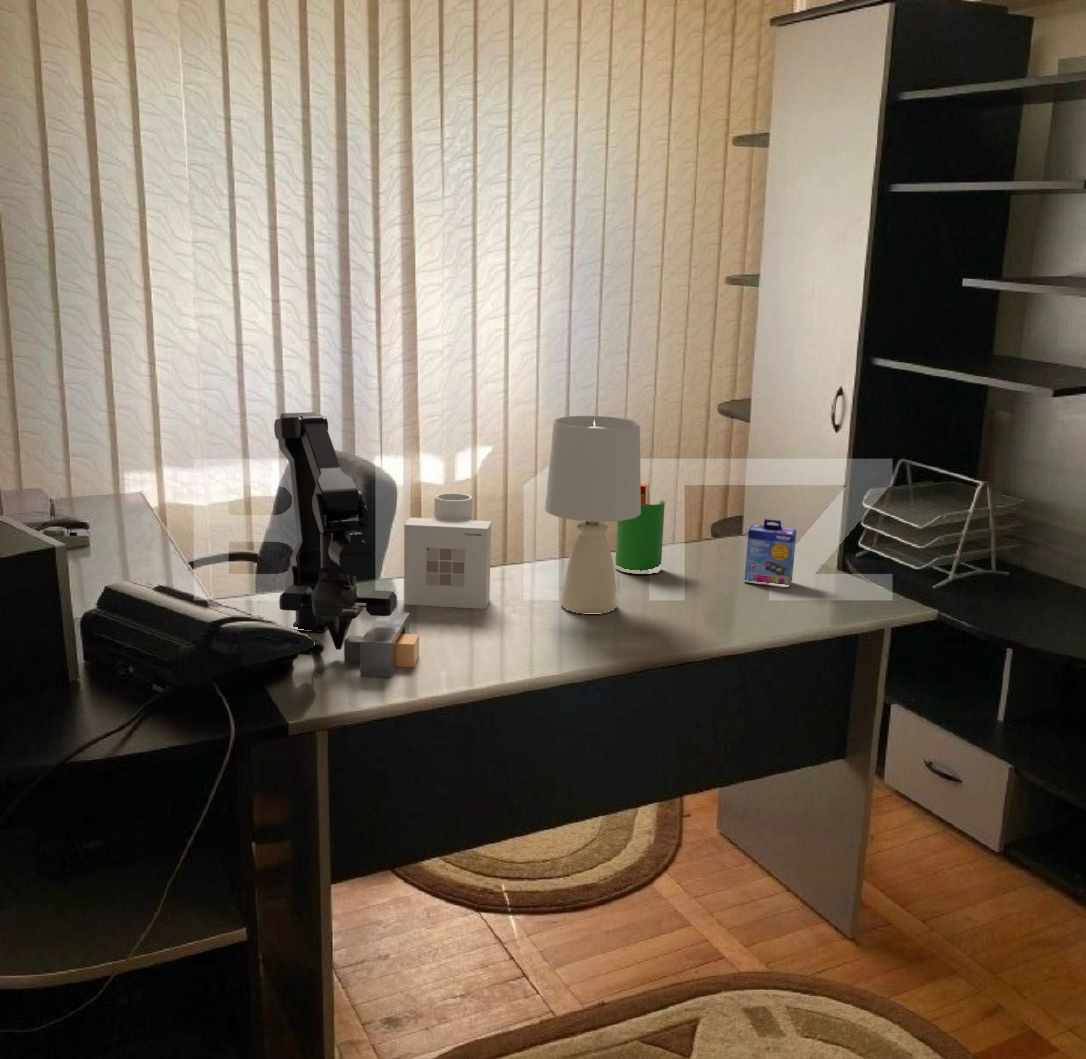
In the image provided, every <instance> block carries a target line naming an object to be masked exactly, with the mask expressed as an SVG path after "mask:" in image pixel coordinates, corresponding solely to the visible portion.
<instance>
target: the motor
mask: <svg viewBox="0 0 1086 1059" xmlns="http://www.w3.org/2000/svg"><path fill="white" fill-rule="evenodd" d="M646 501H647V483H641V514H640V515H639V516H638V517H636V518H633V519H629V520H623V521H616V522H617V524H616V526H617V528H616V542H615V544H616V545H615V546H616V548H615V564H616V565H617V566H620V567H622V568H624V569H629V570H640V571H642V570H648V569H653V568H655V567H658V566H659V565H660V564H661V565H662V556H663V554H662V553H663V543H664V542H663V540H664V539H663V538H664V521H665V506H666V505H665V504H666V501H665V500H660V502H659V503H656V504H650V503H647V502H646Z"/></svg>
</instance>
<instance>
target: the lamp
mask: <svg viewBox="0 0 1086 1059" xmlns="http://www.w3.org/2000/svg"><path fill="white" fill-rule="evenodd" d="M552 425H553V426H552V435H551V444H550V455H549V464H548V473H547V474H548V476H547V485H546V495H545V506H544V510H545V512H547V513H548V514H549V515H551V516H554V517H557V518H562V519H566V520H570V521H571V520H572V521H579V523H578V524H577V525H576V529H577V530H578V532H579V533H578V536H577V538H576V540H575V541H574V544H573V545H572V548H571V552H570V555H569V557H568V561H567V565H566V569H565V575H564V579H563V585H562V588H561V590H562V591H561V597H560V606H561V607H562V606H563V607H564V608H565V609H568V610H570V611H574V612H578V613H605V612H608V611H611V610H613V609H615V608H616V609H617V607H618V606H617V604H618V598H617V585H616V577H615V567H614V561H613V556H612V552H611V548H610V545H609V543H608V541H607V539H606V536H605V533H606V532H607V530H608V525H607V524H605V523H608V522H609V523H612V522H618V521H623V520H629V519H633V518H636V517H638V516H639V515H640V514H641V484H642V483H641V430H640V429H641V424H640V423H639V421H637V420H633V419H629V418H624V417H623V418H622V417H615V416H604V415H603V416H601V415H569V416H562V417H557V418H554V420H553V424H552ZM603 522H604V523H603ZM564 608H563V609H564ZM565 609H564V610H565ZM616 609H615V610H616Z"/></svg>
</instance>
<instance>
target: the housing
mask: <svg viewBox="0 0 1086 1059" xmlns="http://www.w3.org/2000/svg"><path fill="white" fill-rule="evenodd" d="M410 614H411V612H403V611H402V612H398V611H393V612H392V614H391V615H390V616H376V619H375V620H374V622H372V624H371V626H370V627H369V629H367V630H366V632H365V634H364V635H363V636H364V637H363V638H362V640H361V641H360V662H359V668H360V670H359V672H360V673H359V675H360V676H359V677H363V678H379V679H392V677H393V675H394V673H395V671H396V668H397V666H396V640H397V638H398V637H399V635H400V634H411V633H410V632H411V631H410V630H411V628H410V627H411V626H410V625H411V623H410V621H411V620H410V619H411V617H410V616H411V615H410Z"/></svg>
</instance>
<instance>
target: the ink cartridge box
mask: <svg viewBox="0 0 1086 1059" xmlns="http://www.w3.org/2000/svg"><path fill="white" fill-rule="evenodd" d="M763 520H764V521H763V524H751V525H750V527H749V529H748V533H747V541H746V542H747V543H746V545H747V546H746V557H745V558H746V560H745V568H744V569H745V570H744V578H743V579H744V580H748V581H757V582H766V583H775V584H785V585H790V583H791V581H792V582H793V572H794V563H795V554H796V553H795V552H796V540H797V539H796V538H797V529H796V528H792V527H791V528H790V527H783V526H782V520H779V519H778V520H776V519H767V518H764V519H763ZM768 523H773V524H768ZM790 586H791V585H790Z"/></svg>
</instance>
